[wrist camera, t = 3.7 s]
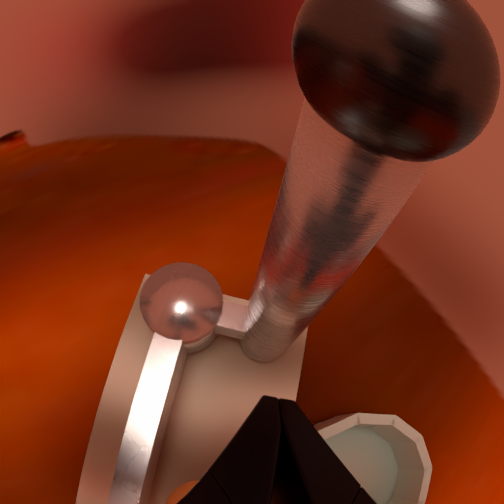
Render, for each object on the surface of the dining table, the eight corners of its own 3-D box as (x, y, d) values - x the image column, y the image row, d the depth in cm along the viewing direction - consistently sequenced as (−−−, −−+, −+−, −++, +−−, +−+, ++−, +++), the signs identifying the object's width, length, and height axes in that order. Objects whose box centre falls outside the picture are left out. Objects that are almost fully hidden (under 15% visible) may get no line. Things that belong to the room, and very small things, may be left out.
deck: (234, 580, 10) (240, 608, 6) (91, 540, 10) (67, 558, 6) (292, 335, 19) (309, 314, 16) (156, 301, 20) (145, 273, 16)
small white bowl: (413, 499, 13) (443, 505, 10) (292, 560, 11) (308, 581, 8) (376, 395, 18) (404, 387, 15) (246, 448, 15) (253, 453, 12)
